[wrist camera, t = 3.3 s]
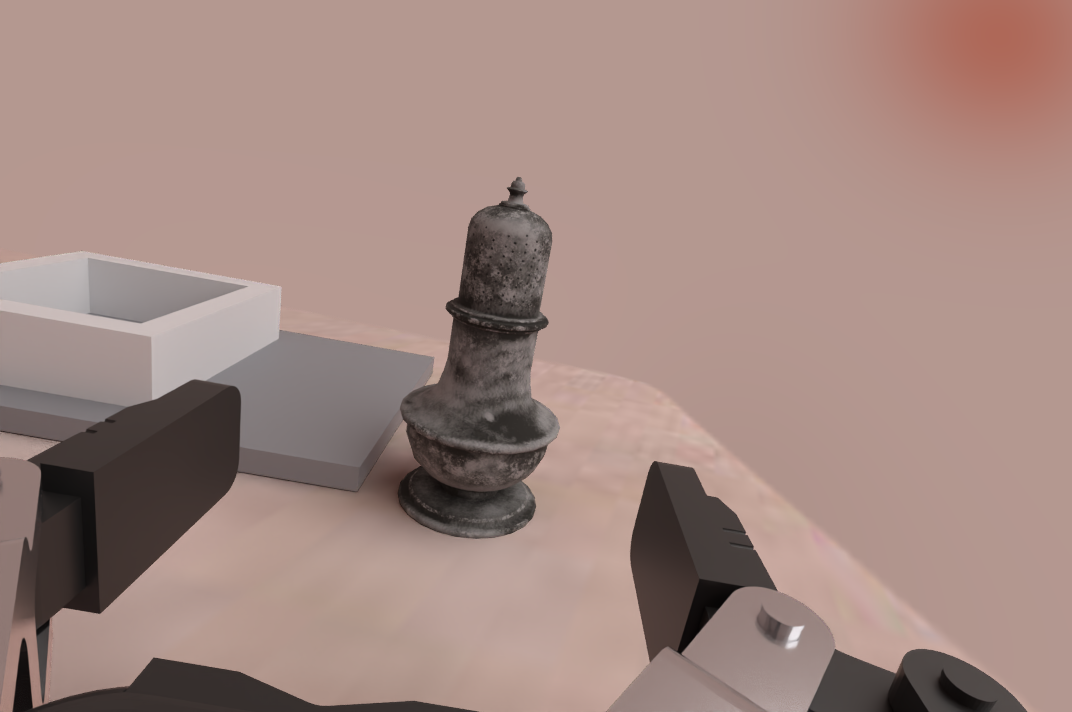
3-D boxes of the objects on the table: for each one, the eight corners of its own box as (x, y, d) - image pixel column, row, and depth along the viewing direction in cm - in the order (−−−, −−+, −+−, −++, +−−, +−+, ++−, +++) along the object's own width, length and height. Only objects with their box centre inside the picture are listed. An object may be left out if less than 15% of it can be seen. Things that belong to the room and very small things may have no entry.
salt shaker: (434, 447, 26) (472, 168, 23) (560, 486, 25) (621, 195, 21) (357, 509, 21) (393, 154, 17) (513, 564, 19) (586, 189, 16)
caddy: (-192, 397, 21) (-213, 289, 20) (96, 313, 35) (93, 246, 34) (356, 491, 22) (367, 391, 21) (432, 373, 35) (440, 308, 34)
